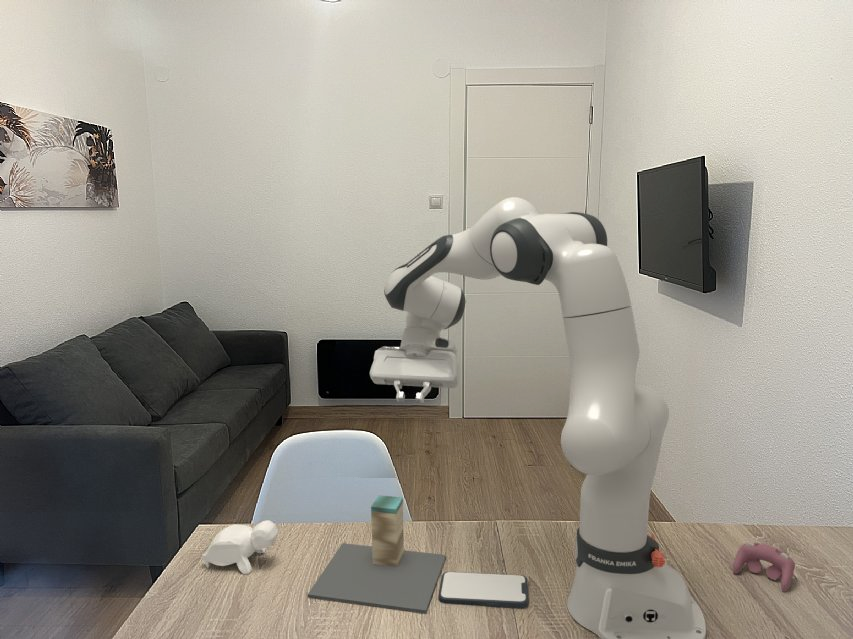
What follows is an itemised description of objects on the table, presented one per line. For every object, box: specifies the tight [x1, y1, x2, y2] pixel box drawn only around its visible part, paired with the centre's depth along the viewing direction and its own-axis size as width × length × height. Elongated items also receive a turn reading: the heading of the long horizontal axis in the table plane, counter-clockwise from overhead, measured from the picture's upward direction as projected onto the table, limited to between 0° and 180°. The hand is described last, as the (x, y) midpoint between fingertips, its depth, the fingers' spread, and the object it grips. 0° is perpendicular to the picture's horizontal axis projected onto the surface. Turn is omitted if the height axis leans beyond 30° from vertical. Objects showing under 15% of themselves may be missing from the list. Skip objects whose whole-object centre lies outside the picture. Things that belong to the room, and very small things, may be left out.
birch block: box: [370, 495, 405, 566], centre depth 125 cm, size 5×5×12 cm
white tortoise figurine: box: [201, 519, 279, 575], centre depth 126 cm, size 9×8×15 cm
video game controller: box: [732, 541, 796, 592], centre depth 119 cm, size 10×5×7 cm, turn 47°
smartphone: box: [438, 571, 529, 610], centre depth 116 cm, size 9×2×16 cm
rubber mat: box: [307, 542, 447, 614], centre depth 121 cm, size 22×18×1 cm
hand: (409, 401), depth 139 cm, fingers open, 3 cm apart
